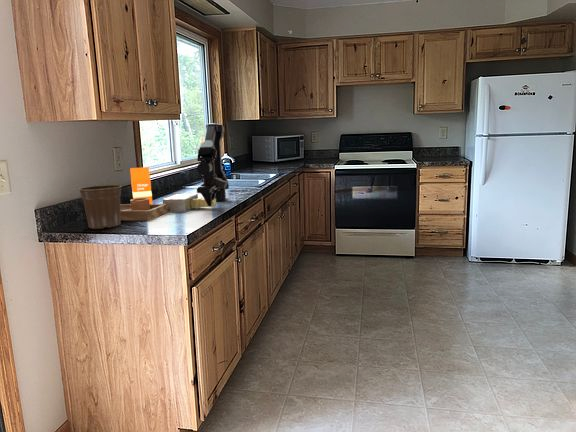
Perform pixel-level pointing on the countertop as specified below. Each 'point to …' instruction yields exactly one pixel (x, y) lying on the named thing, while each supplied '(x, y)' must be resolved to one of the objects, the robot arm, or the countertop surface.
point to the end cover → (201, 203)
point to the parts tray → (143, 212)
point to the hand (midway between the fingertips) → (211, 205)
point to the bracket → (139, 204)
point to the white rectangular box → (179, 202)
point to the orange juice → (141, 183)
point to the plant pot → (102, 205)
